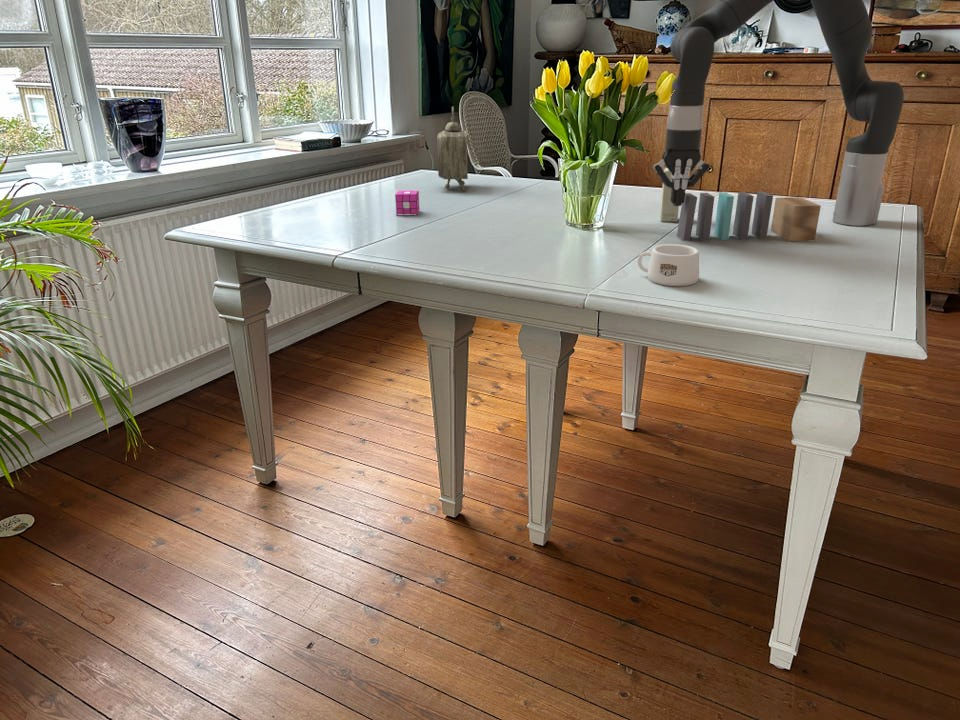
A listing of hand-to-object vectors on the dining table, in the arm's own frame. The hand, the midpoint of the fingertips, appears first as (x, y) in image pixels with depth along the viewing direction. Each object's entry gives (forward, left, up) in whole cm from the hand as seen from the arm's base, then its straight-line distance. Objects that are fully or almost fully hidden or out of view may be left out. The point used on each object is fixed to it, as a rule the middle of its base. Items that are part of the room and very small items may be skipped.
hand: (677, 205), depth 164 cm
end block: (-28, 0, -8) cm, 29 cm away
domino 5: (-20, 0, -8) cm, 22 cm away
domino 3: (-11, 0, -8) cm, 14 cm away
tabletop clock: (+51, -69, -8) cm, 86 cm away
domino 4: (-16, 0, -8) cm, 18 cm away
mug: (+11, +31, -8) cm, 34 cm away
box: (-4, -19, -8) cm, 21 cm away
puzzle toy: (+64, -34, -8) cm, 73 cm away
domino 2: (-7, 0, -8) cm, 10 cm away
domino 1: (-2, 0, -8) cm, 8 cm away
